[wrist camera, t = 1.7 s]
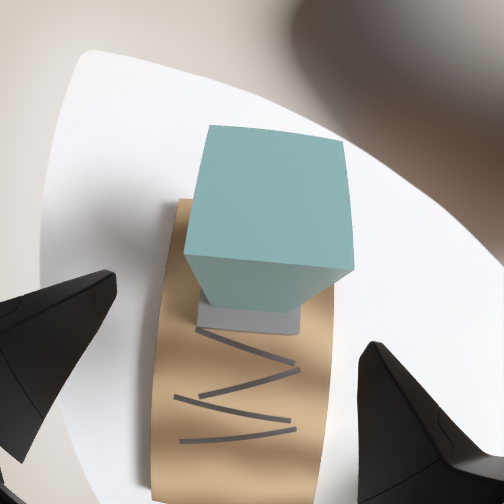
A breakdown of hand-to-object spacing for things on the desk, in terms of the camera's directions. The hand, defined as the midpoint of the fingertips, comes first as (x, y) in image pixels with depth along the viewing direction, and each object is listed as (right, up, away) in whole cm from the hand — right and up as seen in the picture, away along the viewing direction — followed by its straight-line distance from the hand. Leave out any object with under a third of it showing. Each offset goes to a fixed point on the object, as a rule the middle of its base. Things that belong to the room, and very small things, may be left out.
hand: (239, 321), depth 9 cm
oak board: (0, -6, +10) cm, 12 cm away
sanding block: (0, 0, +10) cm, 10 cm away
